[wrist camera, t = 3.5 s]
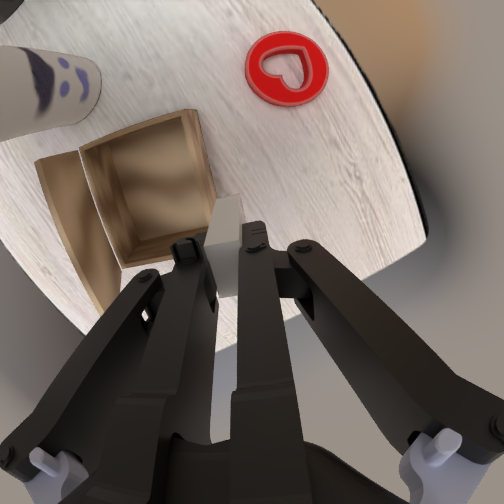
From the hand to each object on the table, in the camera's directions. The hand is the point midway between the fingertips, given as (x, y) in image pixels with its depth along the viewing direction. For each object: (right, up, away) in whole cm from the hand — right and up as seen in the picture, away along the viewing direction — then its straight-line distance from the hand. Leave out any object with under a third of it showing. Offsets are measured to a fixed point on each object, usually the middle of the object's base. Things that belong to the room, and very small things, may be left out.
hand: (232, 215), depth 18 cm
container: (-23, +20, +9) cm, 32 cm away
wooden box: (-10, +7, +17) cm, 21 cm away
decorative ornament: (+5, +20, +11) cm, 23 cm away
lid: (-14, 0, +5) cm, 15 cm away
